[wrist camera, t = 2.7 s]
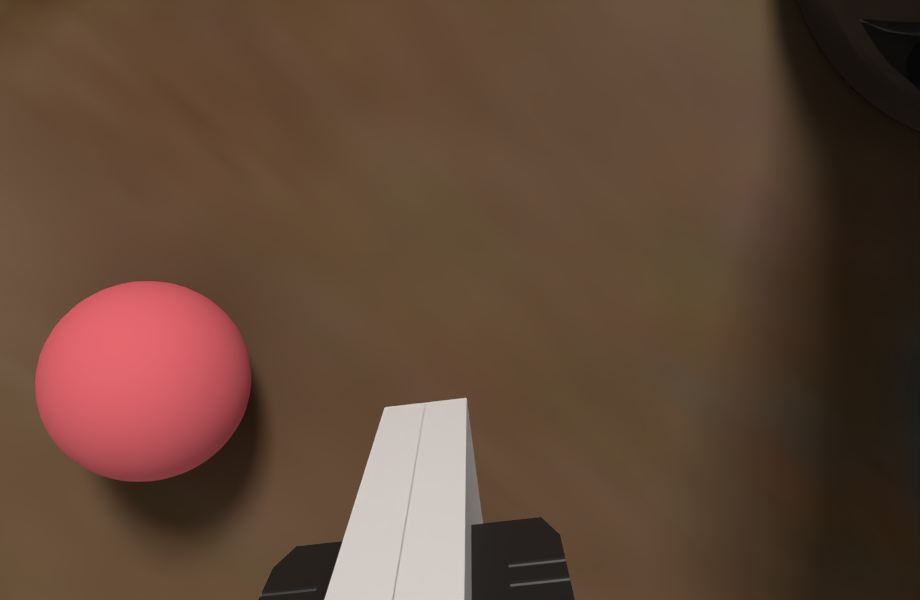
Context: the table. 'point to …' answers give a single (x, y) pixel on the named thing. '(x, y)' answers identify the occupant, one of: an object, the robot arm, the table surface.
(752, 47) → the table surface
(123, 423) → the ball
